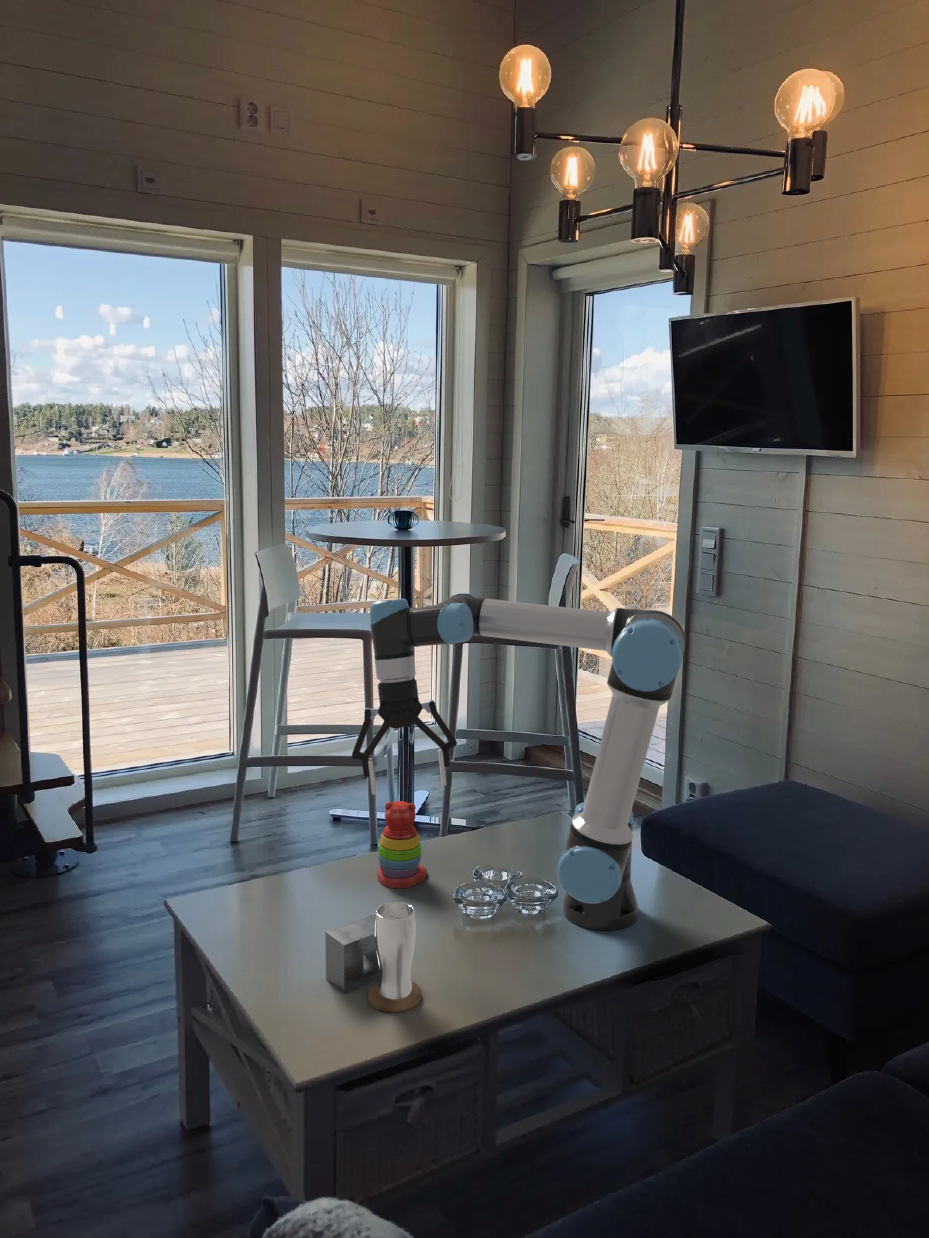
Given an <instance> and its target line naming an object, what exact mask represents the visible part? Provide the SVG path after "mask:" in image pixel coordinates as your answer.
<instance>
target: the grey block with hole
mask: <svg viewBox="0 0 929 1238" xmlns="http://www.w3.org/2000/svg"><path fill="white" fill-rule="evenodd" d="M375 919H376V913H375V914H372V915H369V916H367V917H363V918H360V919H358V920H355V921H352V922H350V923H346V924H344V925H341V926H337V927H335V928H333V929H330V930H327V931H325V932H324V933H325V935H324V936H325V979H326V980H327V981H328V982H329V983H330V984H332V985H333V986H334V987H336V988H337V989H338V990H339V991H341V992H342V993H343V994H347V993H349V992H351V991H354V990H357V989H359V988H361V987H364V986H366V985H369V984H371V983H373V982H376V981H379V978H380V969H379V963H378V958H377V952H376V946H375Z"/></svg>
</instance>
